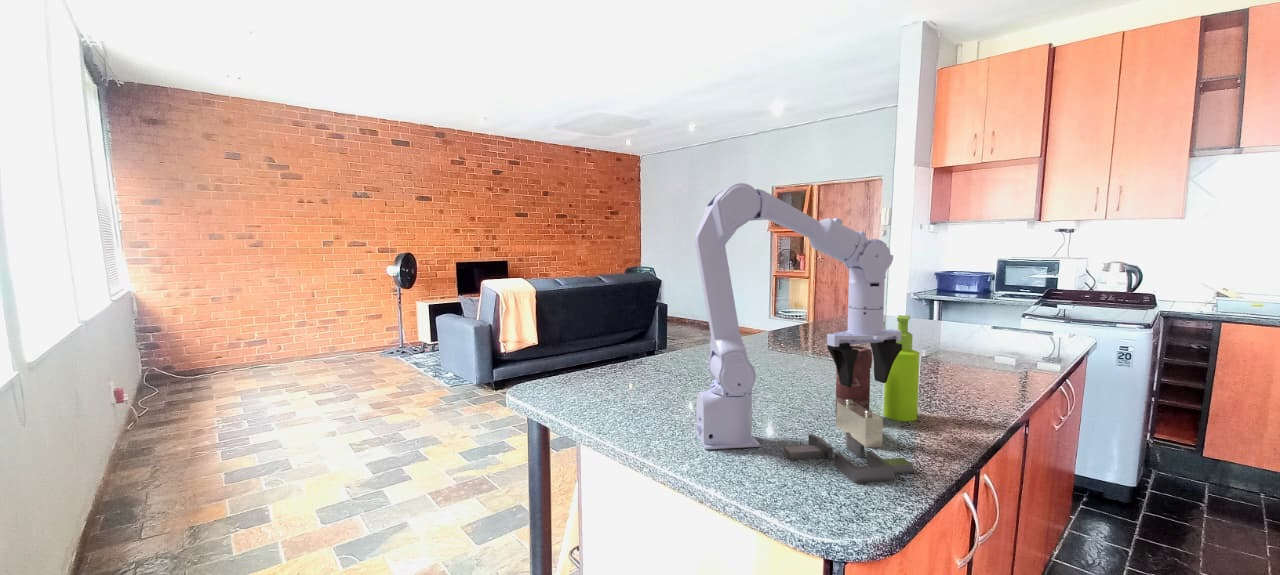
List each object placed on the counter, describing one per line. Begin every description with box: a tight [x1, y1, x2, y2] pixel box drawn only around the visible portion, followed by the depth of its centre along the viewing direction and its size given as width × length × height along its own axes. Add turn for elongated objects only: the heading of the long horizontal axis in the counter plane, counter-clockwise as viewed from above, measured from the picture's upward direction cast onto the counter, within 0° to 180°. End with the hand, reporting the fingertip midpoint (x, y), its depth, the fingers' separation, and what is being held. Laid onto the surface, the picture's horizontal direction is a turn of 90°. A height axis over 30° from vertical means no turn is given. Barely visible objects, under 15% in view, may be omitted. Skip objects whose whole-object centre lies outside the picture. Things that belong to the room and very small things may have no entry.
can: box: [835, 345, 873, 415], centre depth 97 cm, size 6×6×14 cm
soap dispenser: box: [883, 314, 920, 422], centre depth 98 cm, size 6×7×20 cm
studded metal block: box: [835, 399, 884, 449], centre depth 88 cm, size 3×10×6 cm, turn 5°
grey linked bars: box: [783, 432, 914, 484], centre depth 78 cm, size 16×14×2 cm
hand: (863, 383), depth 88 cm, fingers open, 7 cm apart
